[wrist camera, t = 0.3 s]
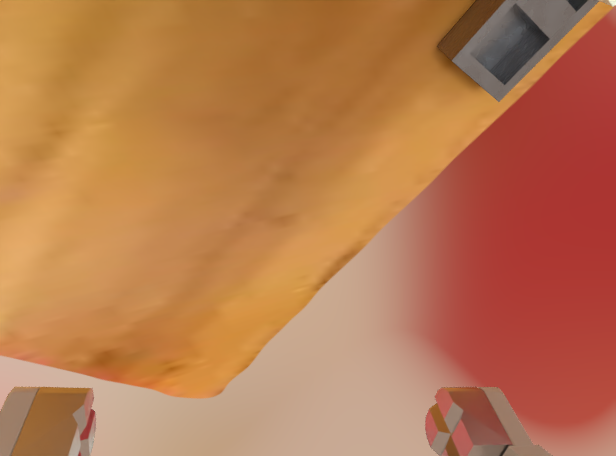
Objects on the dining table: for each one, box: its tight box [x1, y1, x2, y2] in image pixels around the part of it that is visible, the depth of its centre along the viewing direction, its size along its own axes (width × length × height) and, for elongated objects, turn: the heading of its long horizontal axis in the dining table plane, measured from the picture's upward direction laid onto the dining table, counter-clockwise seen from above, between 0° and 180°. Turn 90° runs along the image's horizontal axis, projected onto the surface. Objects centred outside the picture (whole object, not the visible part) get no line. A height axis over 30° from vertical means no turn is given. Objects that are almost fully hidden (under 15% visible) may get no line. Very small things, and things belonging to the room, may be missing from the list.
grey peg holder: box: [437, 0, 599, 102], centre depth 42 cm, size 16×7×4 cm, turn 143°
